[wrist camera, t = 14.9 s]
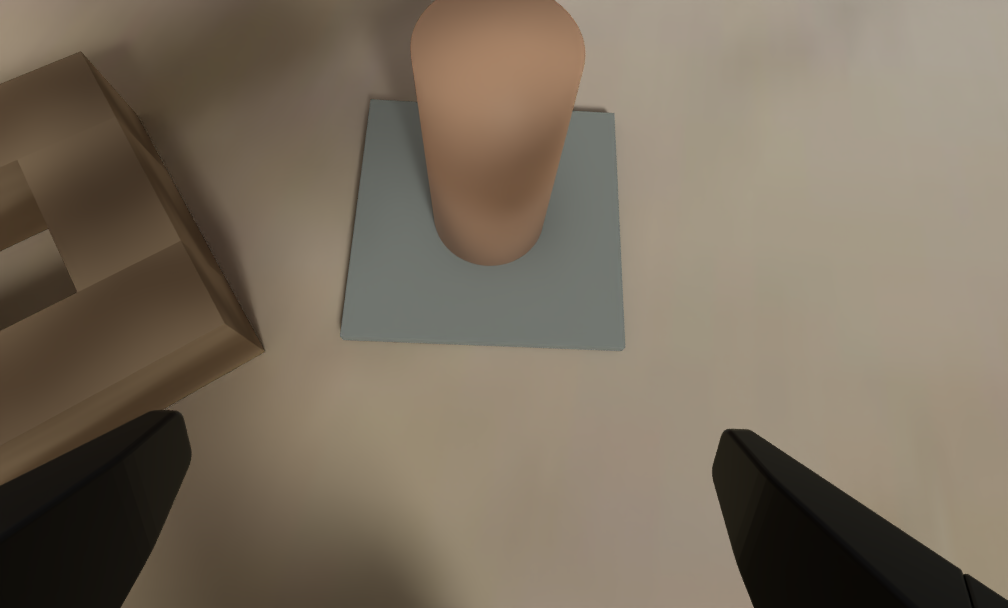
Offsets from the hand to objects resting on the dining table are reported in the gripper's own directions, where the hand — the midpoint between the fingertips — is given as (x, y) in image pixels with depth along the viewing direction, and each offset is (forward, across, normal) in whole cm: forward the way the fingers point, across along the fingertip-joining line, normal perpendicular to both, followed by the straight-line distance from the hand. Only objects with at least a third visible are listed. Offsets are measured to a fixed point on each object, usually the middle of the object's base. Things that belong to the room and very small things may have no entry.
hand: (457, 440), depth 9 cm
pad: (+18, 0, +2) cm, 18 cm away
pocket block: (+14, +18, +5) cm, 24 cm away
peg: (+17, 0, +1) cm, 17 cm away
